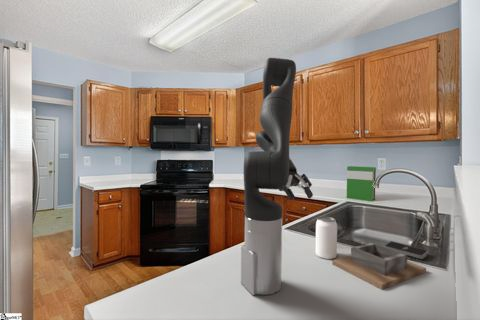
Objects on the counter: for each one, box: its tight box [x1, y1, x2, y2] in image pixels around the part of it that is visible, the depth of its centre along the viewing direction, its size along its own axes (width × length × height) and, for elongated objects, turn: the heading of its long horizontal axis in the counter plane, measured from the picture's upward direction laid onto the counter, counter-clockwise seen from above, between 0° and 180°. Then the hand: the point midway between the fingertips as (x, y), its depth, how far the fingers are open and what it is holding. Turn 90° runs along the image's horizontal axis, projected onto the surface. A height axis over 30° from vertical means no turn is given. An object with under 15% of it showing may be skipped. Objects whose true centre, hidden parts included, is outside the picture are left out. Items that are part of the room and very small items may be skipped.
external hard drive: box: [383, 241, 429, 261], centre depth 82 cm, size 7×11×2 cm, turn 39°
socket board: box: [332, 242, 427, 290], centre depth 70 cm, size 20×15×5 cm
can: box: [315, 216, 338, 260], centre depth 79 cm, size 6×6×12 cm
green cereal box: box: [346, 166, 377, 202], centre depth 181 cm, size 18×7×24 cm, turn 47°
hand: (302, 198), depth 89 cm, fingers open, 8 cm apart
